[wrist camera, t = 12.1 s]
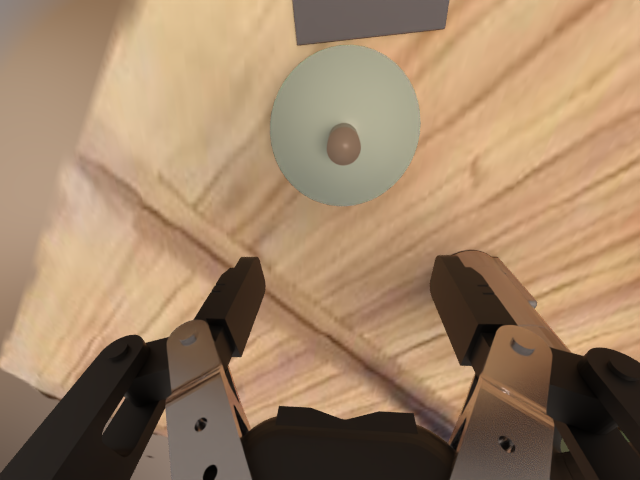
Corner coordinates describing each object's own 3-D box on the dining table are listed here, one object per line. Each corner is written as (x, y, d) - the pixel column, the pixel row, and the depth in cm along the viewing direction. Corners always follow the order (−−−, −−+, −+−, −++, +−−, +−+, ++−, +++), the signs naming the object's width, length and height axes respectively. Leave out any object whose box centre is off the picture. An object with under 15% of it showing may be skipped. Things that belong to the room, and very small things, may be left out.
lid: (430, 36, 20) (451, 26, 17) (408, 200, 29) (419, 220, 25) (257, 55, 22) (239, 49, 18) (284, 205, 30) (275, 225, 26)
